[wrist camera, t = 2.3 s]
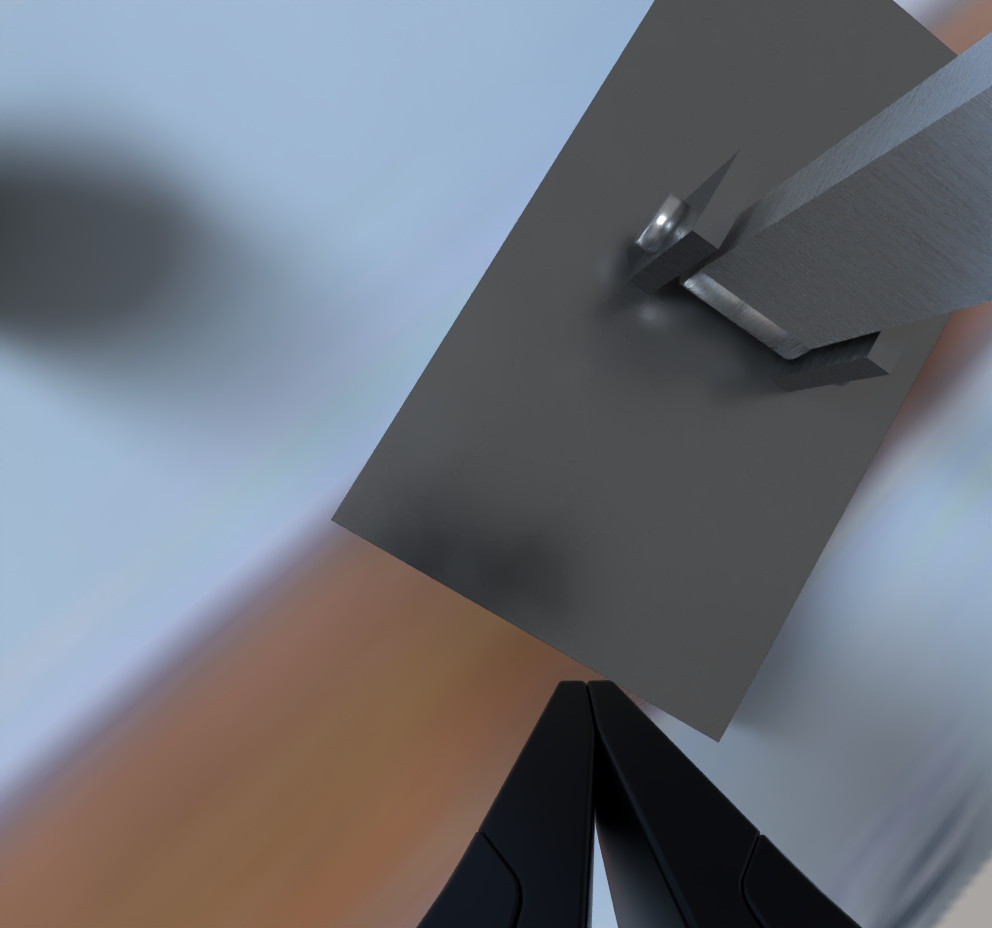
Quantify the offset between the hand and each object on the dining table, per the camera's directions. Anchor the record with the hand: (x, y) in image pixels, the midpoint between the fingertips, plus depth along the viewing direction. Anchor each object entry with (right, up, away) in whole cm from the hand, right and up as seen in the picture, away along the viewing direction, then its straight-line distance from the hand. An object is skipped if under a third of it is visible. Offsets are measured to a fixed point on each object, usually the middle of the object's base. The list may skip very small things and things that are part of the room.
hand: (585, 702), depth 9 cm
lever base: (+6, +9, +12) cm, 16 cm away
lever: (+6, +9, +8) cm, 13 cm away
